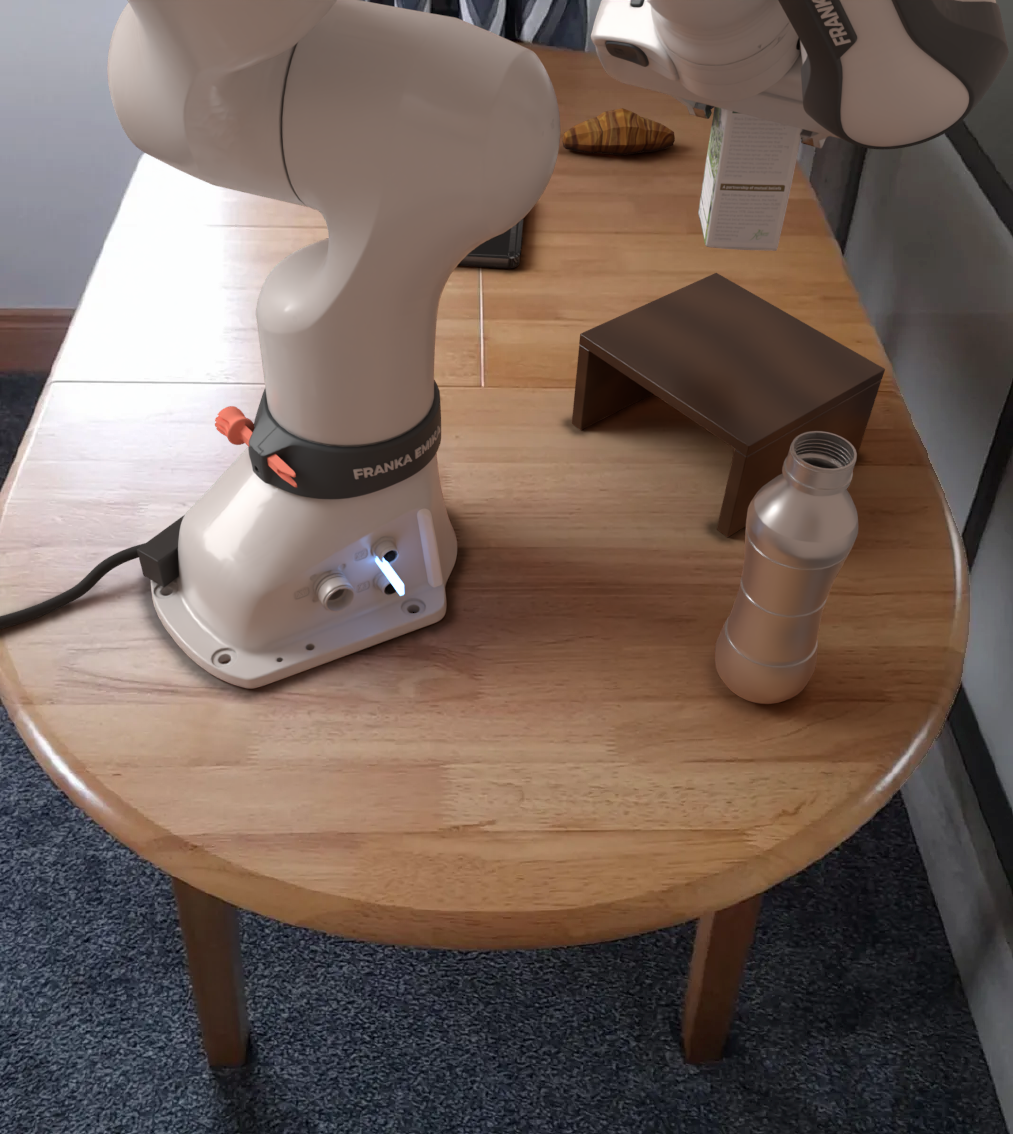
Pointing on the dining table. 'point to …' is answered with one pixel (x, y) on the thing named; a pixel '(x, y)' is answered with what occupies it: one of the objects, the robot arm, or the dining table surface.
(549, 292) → the dining table surface
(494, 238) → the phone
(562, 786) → the dining table surface
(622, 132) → the croissant
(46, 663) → the dining table surface
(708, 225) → the syrup box
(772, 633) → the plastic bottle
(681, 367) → the shelf
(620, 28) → the robot arm
